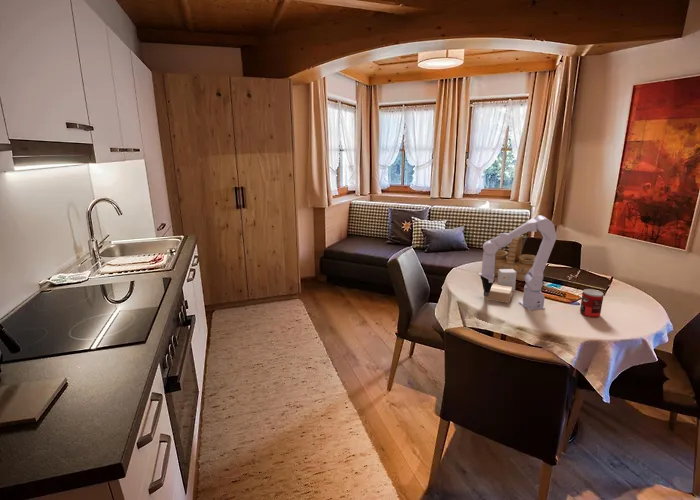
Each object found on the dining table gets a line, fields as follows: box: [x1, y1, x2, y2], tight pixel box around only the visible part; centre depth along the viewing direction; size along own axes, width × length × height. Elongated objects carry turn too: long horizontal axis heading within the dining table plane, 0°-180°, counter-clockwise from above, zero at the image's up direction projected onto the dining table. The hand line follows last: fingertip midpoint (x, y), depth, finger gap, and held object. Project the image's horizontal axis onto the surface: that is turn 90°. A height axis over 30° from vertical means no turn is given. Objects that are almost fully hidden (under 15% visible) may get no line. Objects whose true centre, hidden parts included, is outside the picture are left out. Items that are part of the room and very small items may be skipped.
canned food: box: [579, 288, 605, 318], centre depth 166 cm, size 8×8×11 cm
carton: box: [490, 283, 513, 303], centre depth 188 cm, size 12×9×5 cm
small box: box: [496, 269, 517, 291], centre depth 198 cm, size 8×6×10 cm
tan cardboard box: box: [483, 290, 510, 304], centre depth 181 cm, size 12×6×9 cm, turn 60°
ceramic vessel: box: [494, 235, 537, 282], centre depth 215 cm, size 34×18×25 cm, turn 48°
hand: (486, 291), depth 182 cm, fingers closed on tan cardboard box, 2 cm apart
